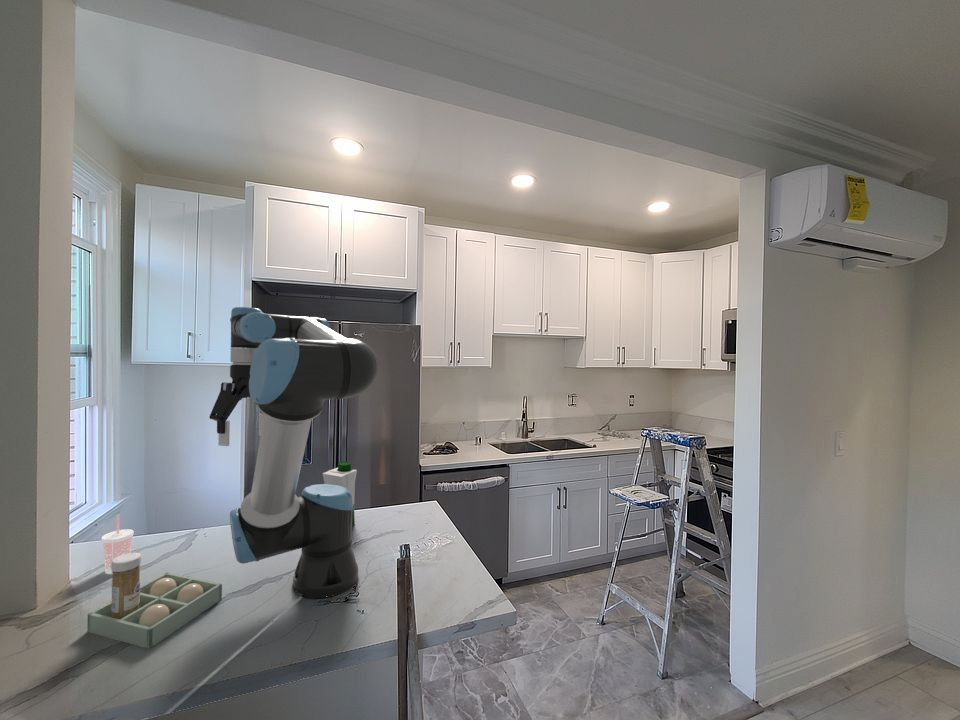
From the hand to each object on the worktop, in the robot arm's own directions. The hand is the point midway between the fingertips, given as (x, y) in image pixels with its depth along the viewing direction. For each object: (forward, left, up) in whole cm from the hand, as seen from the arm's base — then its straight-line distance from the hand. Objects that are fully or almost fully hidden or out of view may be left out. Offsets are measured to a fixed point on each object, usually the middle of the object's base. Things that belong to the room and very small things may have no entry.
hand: (244, 440), depth 113 cm
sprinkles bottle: (-1, +31, -31) cm, 44 cm away
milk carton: (-15, -23, -32) cm, 42 cm away
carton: (-5, +27, -32) cm, 42 cm away
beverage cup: (+23, +16, -32) cm, 42 cm away
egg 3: (-9, +23, -31) cm, 40 cm away
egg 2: (-9, +31, -31) cm, 45 cm away
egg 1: (-1, +23, -31) cm, 39 cm away
